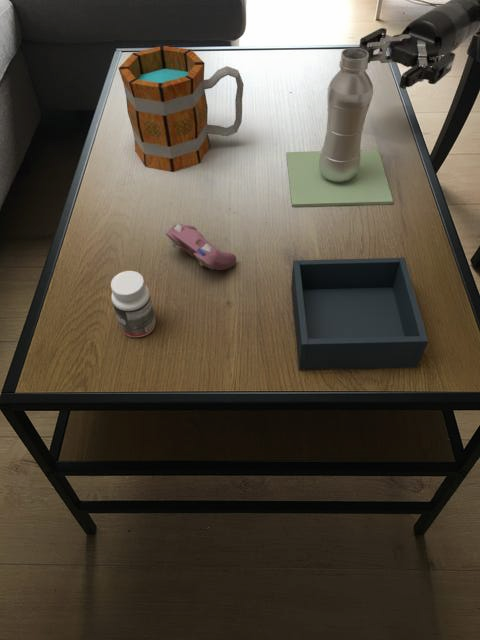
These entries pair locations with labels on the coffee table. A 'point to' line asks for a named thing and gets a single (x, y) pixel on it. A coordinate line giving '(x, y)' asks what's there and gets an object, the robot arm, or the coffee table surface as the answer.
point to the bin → (356, 314)
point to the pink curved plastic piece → (199, 247)
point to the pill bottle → (132, 304)
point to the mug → (172, 106)
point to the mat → (320, 191)
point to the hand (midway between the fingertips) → (378, 72)
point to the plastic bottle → (346, 116)
